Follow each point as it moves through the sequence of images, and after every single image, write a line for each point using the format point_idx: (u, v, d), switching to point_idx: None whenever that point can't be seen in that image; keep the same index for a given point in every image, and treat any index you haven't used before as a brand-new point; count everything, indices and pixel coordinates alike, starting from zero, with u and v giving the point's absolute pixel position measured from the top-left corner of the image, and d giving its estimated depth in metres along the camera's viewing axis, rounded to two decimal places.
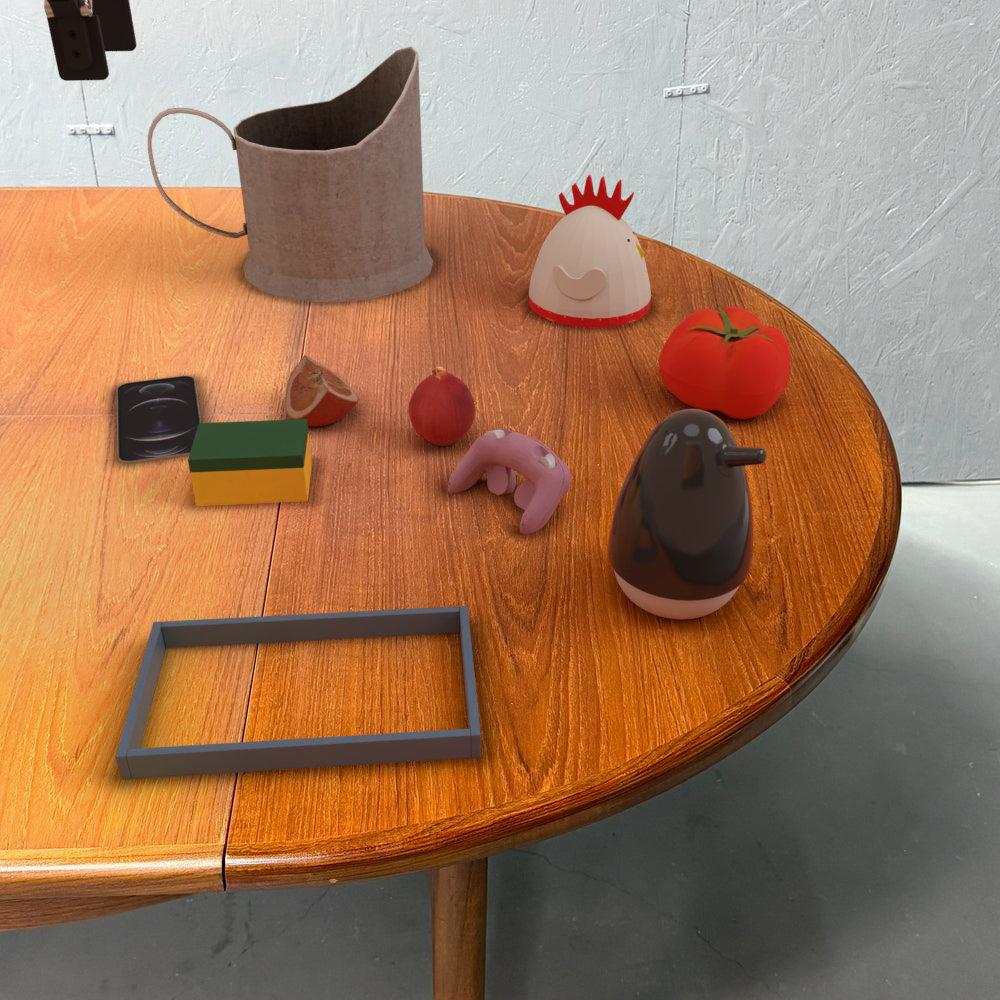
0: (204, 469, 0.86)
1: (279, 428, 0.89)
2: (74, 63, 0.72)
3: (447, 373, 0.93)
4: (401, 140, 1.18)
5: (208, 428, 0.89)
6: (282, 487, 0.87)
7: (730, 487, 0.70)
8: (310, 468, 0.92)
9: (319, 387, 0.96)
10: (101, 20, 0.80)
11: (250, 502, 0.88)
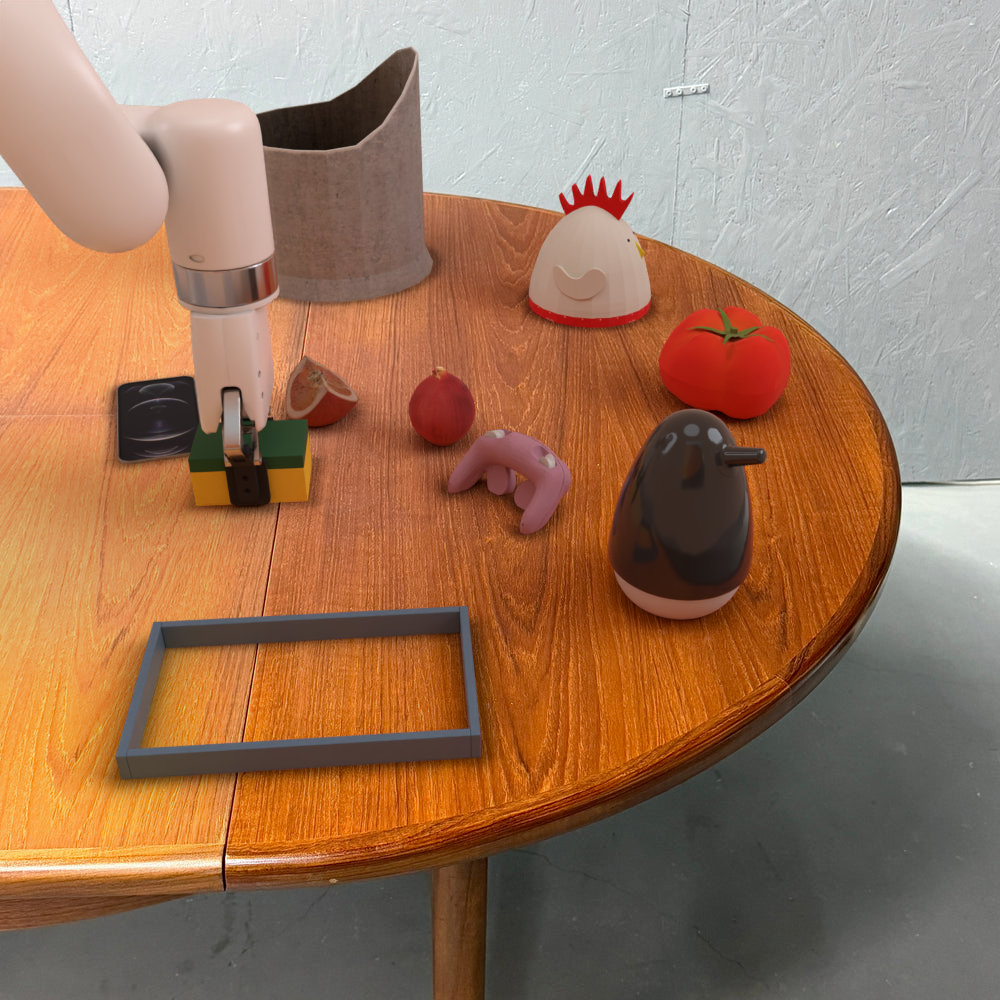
0: (204, 469, 0.86)
1: (279, 428, 0.89)
2: (245, 496, 0.86)
3: (447, 373, 0.93)
4: (401, 140, 1.18)
5: None
6: (282, 487, 0.87)
7: (730, 487, 0.70)
8: (310, 468, 0.92)
9: (319, 387, 0.96)
10: None
11: None
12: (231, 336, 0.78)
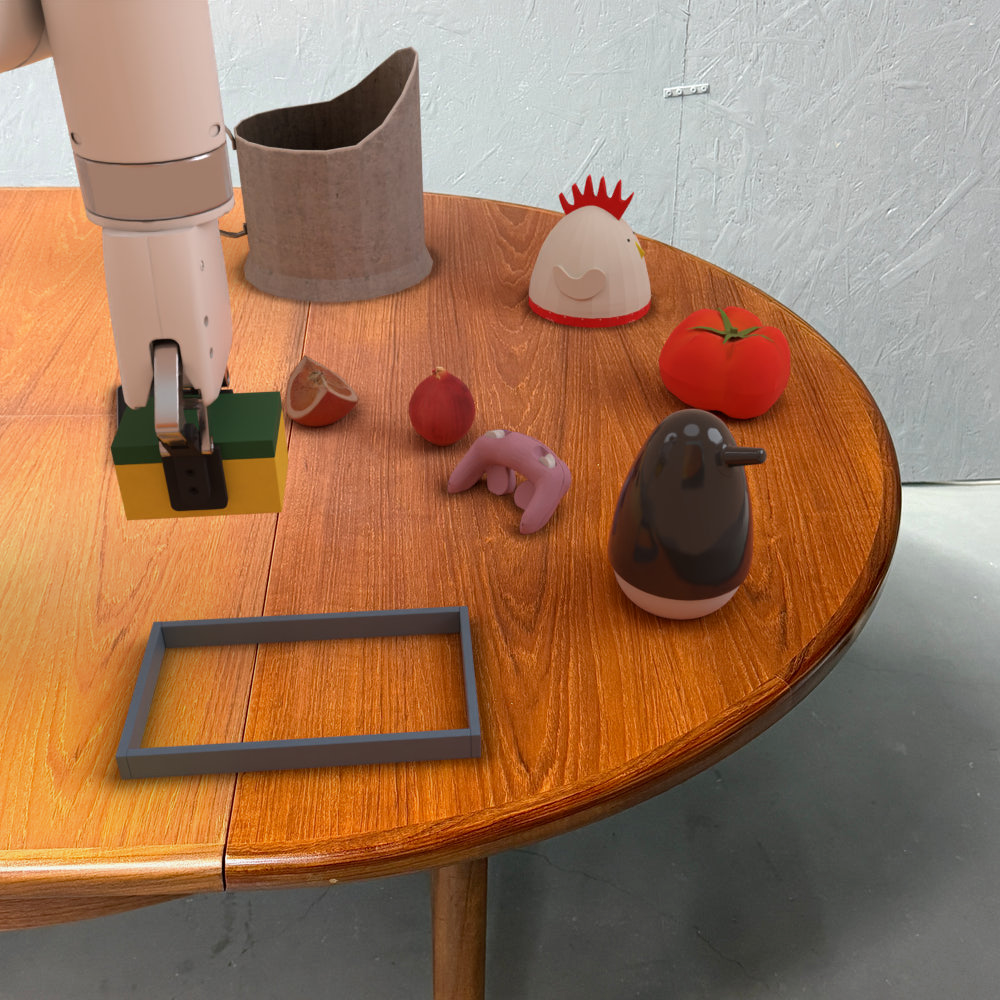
0: (134, 460, 0.61)
1: (241, 403, 0.64)
2: (191, 499, 0.61)
3: (447, 373, 0.93)
4: (401, 140, 1.18)
5: None
6: (244, 485, 0.62)
7: (730, 487, 0.70)
8: (285, 459, 0.67)
9: (319, 387, 0.96)
10: None
11: None
12: (162, 263, 0.53)
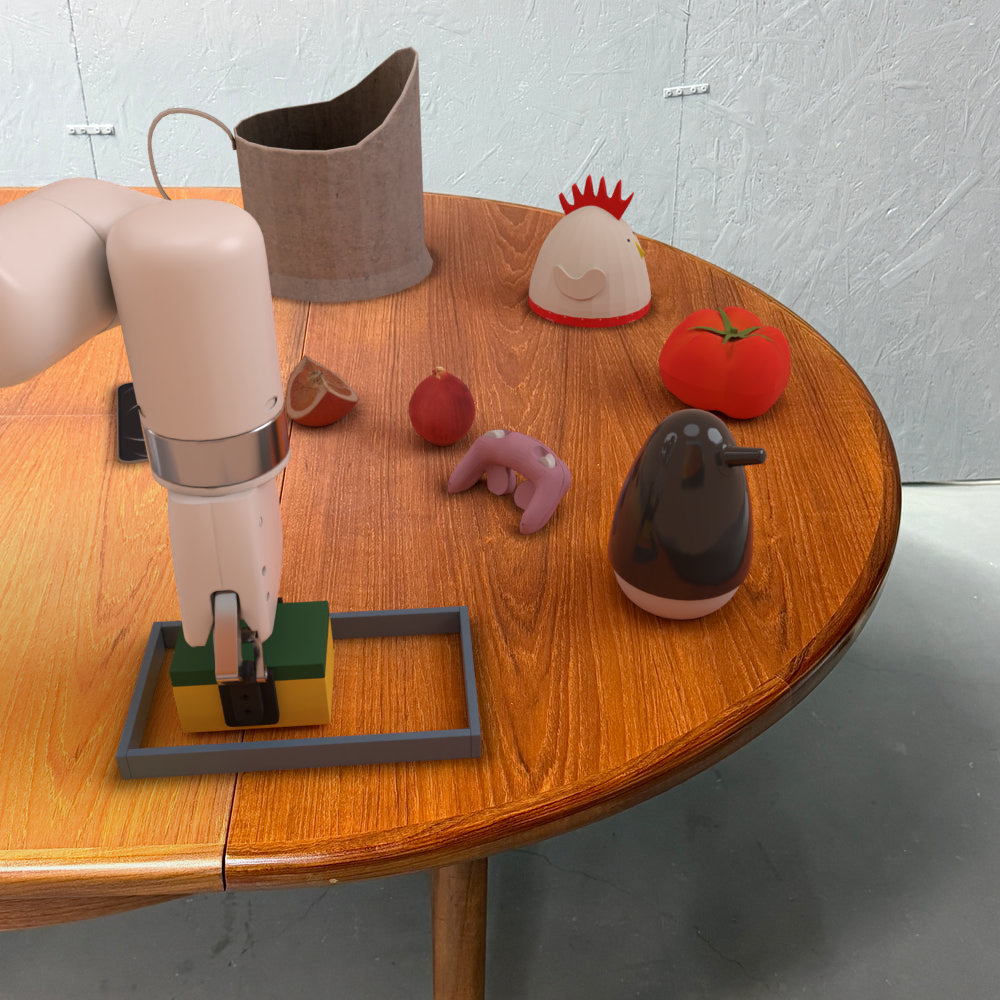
0: (191, 683, 0.64)
1: (291, 616, 0.67)
2: (244, 719, 0.64)
3: (447, 373, 0.93)
4: (401, 140, 1.18)
5: None
6: (295, 702, 0.65)
7: (730, 487, 0.70)
8: (332, 663, 0.70)
9: (319, 387, 0.96)
10: None
11: None
12: (224, 526, 0.56)
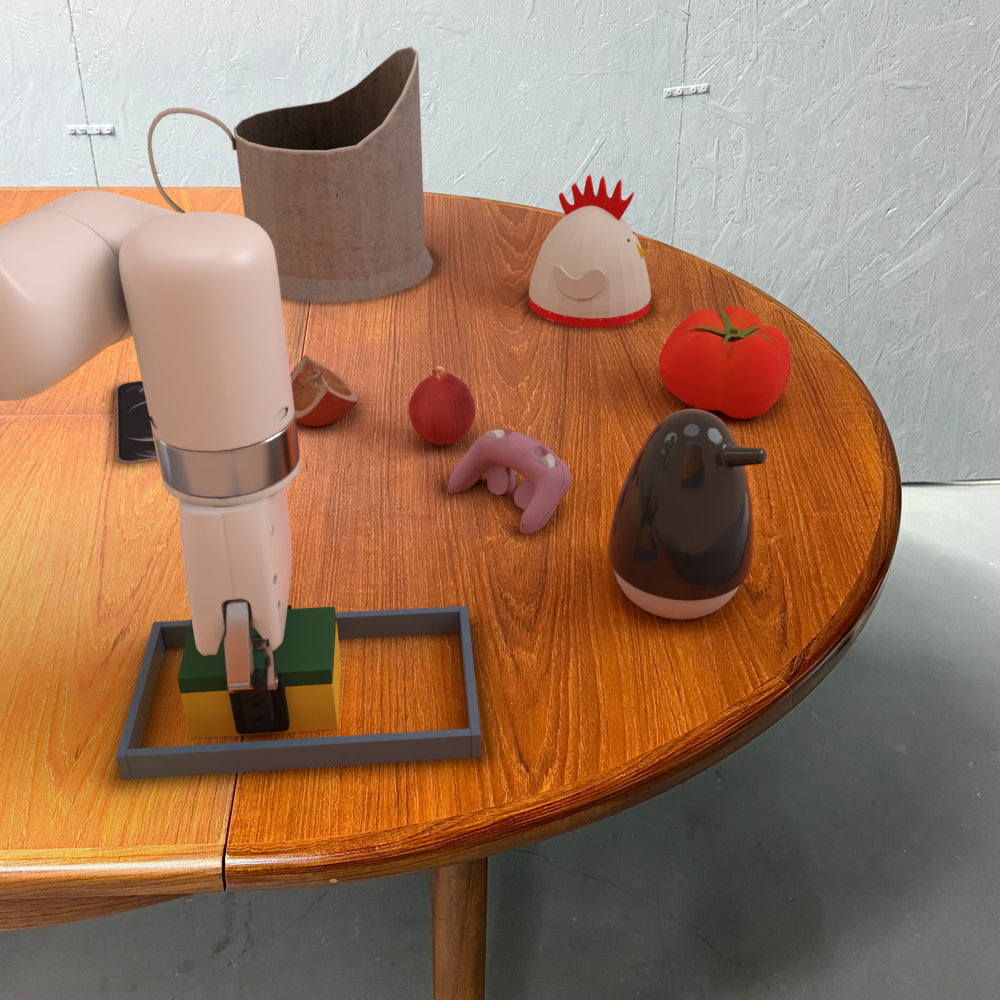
0: (199, 689, 0.64)
1: (298, 622, 0.68)
2: (255, 726, 0.64)
3: (447, 373, 0.93)
4: (401, 140, 1.18)
5: None
6: (303, 707, 0.65)
7: (730, 487, 0.70)
8: (339, 668, 0.70)
9: (319, 387, 0.96)
10: None
11: None
12: (236, 535, 0.56)
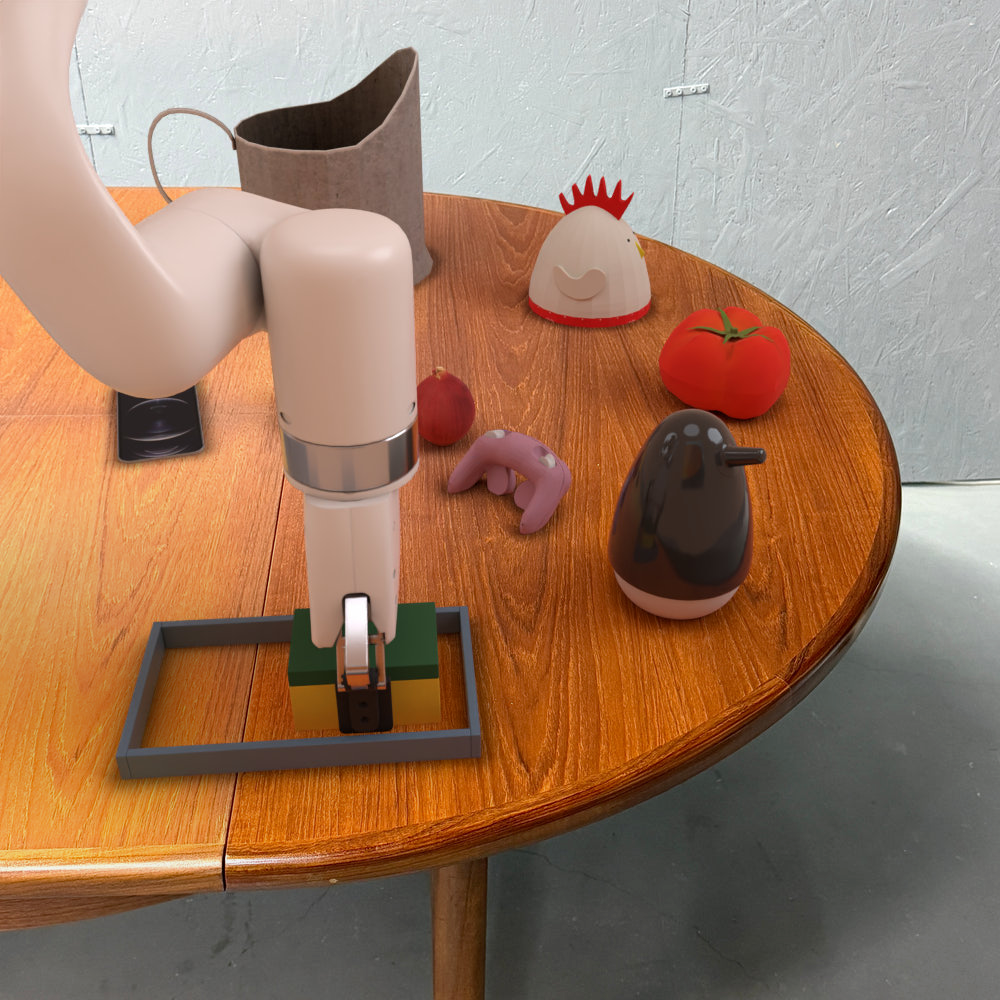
0: (308, 683, 0.64)
1: (401, 617, 0.68)
2: (361, 726, 0.63)
3: (447, 373, 0.93)
4: (401, 140, 1.18)
5: (307, 618, 0.68)
6: (408, 701, 0.66)
7: (730, 487, 0.70)
8: None
9: None
10: None
11: None
12: (361, 530, 0.57)
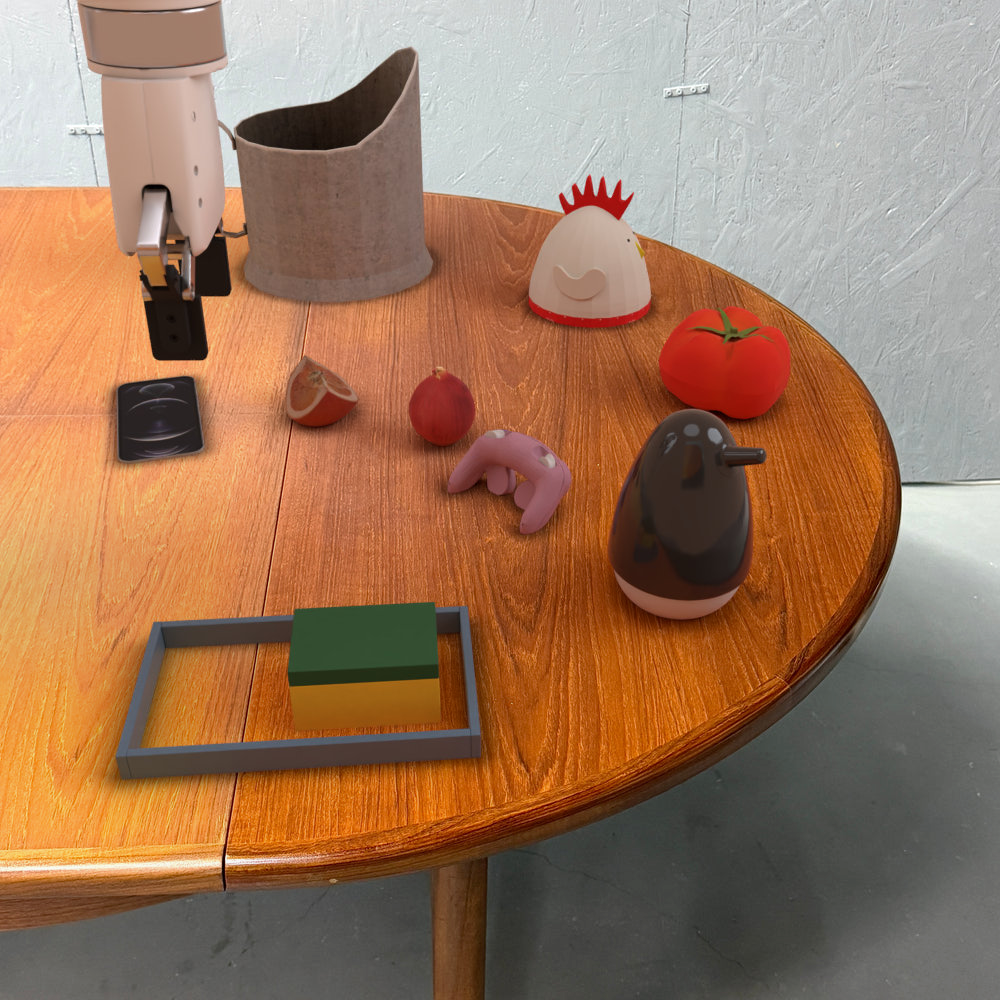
0: (308, 683, 0.64)
1: (401, 617, 0.68)
2: (171, 346, 0.63)
3: (447, 373, 0.93)
4: (401, 140, 1.18)
5: (307, 618, 0.68)
6: (408, 701, 0.66)
7: (730, 487, 0.70)
8: None
9: (319, 387, 0.96)
10: (195, 266, 0.71)
11: (365, 719, 0.66)
12: (156, 109, 0.57)
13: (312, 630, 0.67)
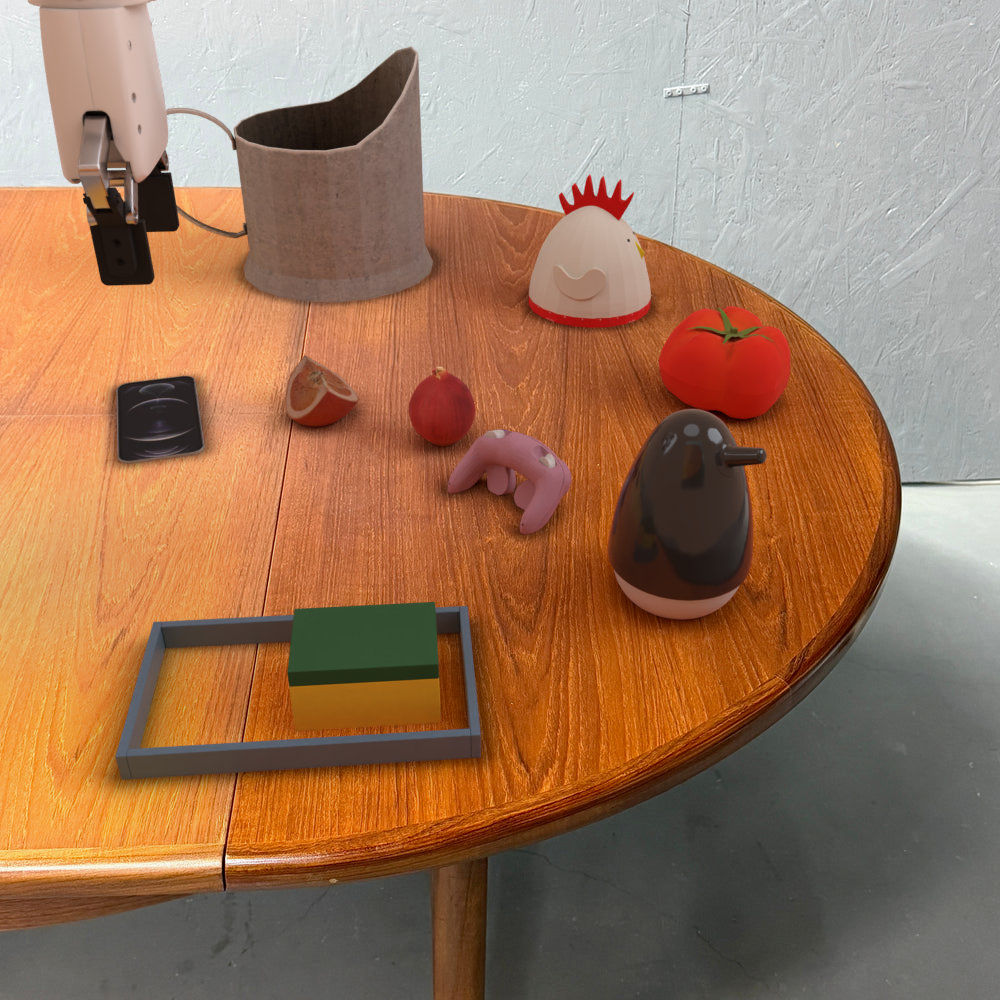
0: (308, 683, 0.64)
1: (401, 617, 0.68)
2: (118, 270, 0.66)
3: (447, 373, 0.93)
4: (401, 140, 1.18)
5: (307, 618, 0.68)
6: (408, 701, 0.66)
7: (730, 487, 0.70)
8: None
9: (319, 387, 0.96)
10: (142, 202, 0.74)
11: (365, 719, 0.66)
12: (92, 37, 0.60)
13: (312, 630, 0.67)
